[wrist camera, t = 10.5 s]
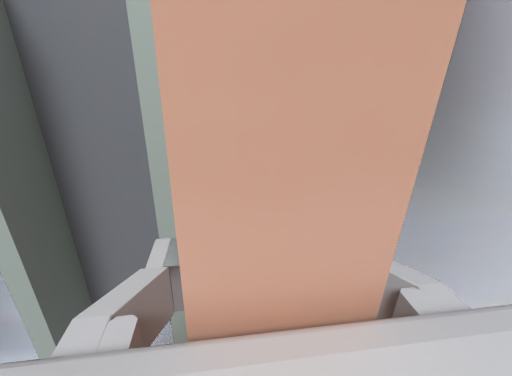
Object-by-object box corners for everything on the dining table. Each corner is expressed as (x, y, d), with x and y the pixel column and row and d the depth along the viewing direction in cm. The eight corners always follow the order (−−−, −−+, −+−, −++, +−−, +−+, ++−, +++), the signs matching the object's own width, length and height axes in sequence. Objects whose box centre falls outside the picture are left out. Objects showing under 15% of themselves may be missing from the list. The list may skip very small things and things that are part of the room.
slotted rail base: (331, -28, 14) (393, -83, 9) (295, 294, 22) (317, 354, 18) (-50, -63, 11) (-244, -163, 6) (76, 316, 20) (34, 392, 15)
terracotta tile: (283, 51, 12) (469, -6, 3) (269, 281, 18) (326, 491, 9) (197, 48, 12) (146, -33, 3) (210, 286, 17) (207, 517, 8)
